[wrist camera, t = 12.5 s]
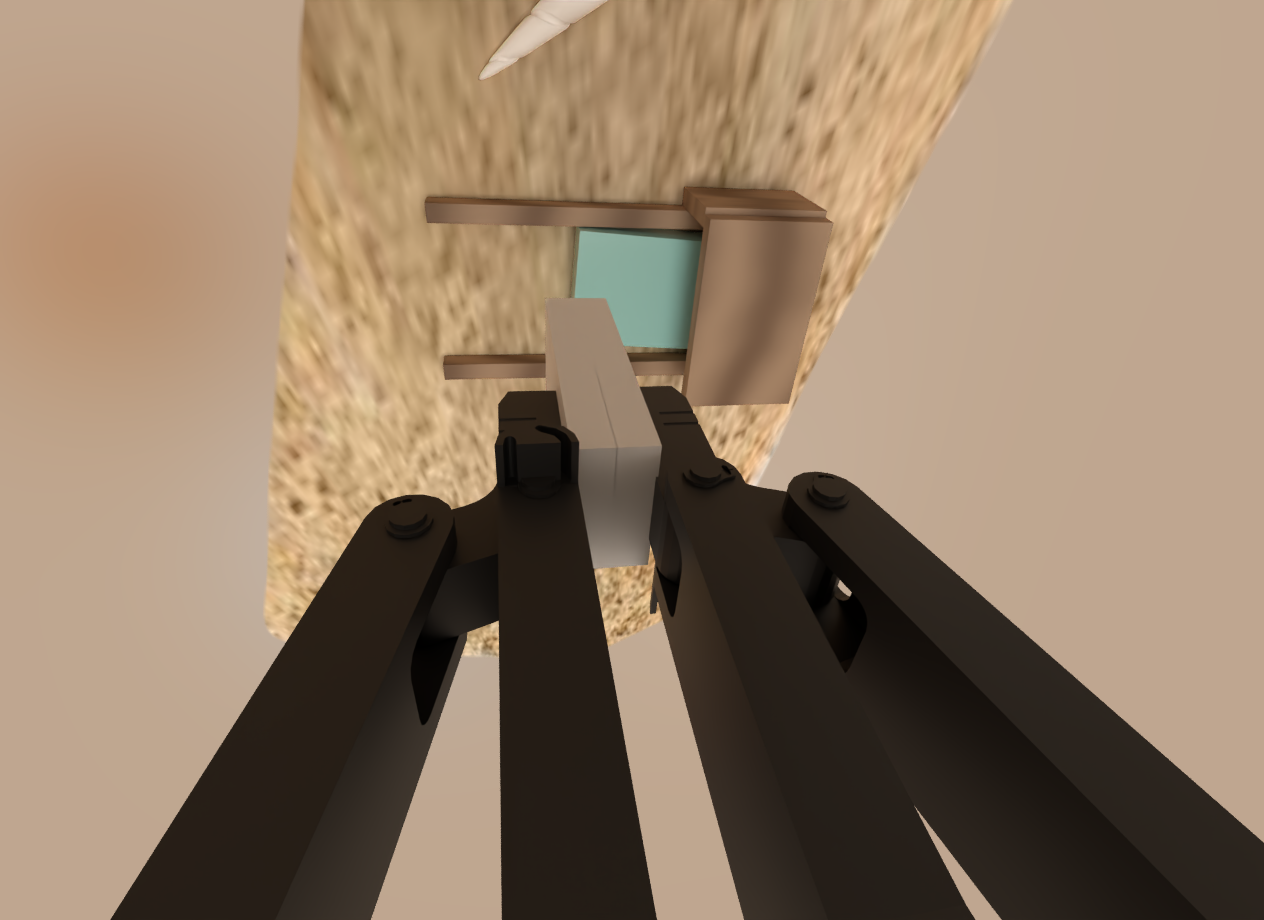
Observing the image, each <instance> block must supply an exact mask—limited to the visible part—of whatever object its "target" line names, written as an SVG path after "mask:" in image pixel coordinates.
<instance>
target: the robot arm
mask: <svg viewBox="0 0 1264 920" xmlns="http://www.w3.org/2000/svg"><path fill="white" fill-rule="evenodd" d="M545 346H546V391H513V392H508V393H507V394H506V395H505V397H504V398H503V399H502V400H501V402H500V403H499V404H498V419H499V436H498V437H497V440H496V443H495V457H496V472H497V484H496V486H495V487H494V489H493V490H492V491H491V492H490V493H489V494H488V495H487V496H485V497H484V498H482V499H480V500H479V501H477V502H475V503H472V504H469V505H466V506H463V507H460V508H456V509H452V510H451V508H450V506H449V505H448V504H447V503H445V502H443V501H442V500H440V499H439V498H436V497H431V496H427V495H405V496H401V497H397V498H393V499H390V500H388V501H386V502H384V503H382V504H380V505H379V506H377V507H375V508H374V509H373V510H372V511H371V512H370V513H369V514H368V515H367V516H366V517H365V519H364V520H363V522H362V523H361V525H360V527H359V528H358V530H357V531H356V533H355V534H354V536H353V538H352V539H351V541H350V542H349V544H348V546H347V547H346V549H345V550H344V552H343V553H342V555H341V557H340V558H339V560H338V561H337V563H336V564H335V566H334V568H333V569H332V571H331V572H330V574H329V575H328V577H327V579H326V580H325V582H324V583H323V585H322V587H321V588H320V590H319V591H318V593H317V594H316V596H315V598H314V599H313V601H312V602H311V604H310V605H309V607H308V609H307V610H306V612H305V613H304V615H303V617H302V618H301V620H300V621H299V623H298V624H297V626H296V628H295V629H294V631H293V632H292V634H291V635H290V637H289V639H288V640H287V642H286V643H285V645H284V647H283V648H282V650H281V651H280V653H279V654H278V656H277V658H276V659H275V661H274V662H273V664H272V665H271V667H270V669H269V670H268V672H267V673H266V675H265V676H264V678H263V680H262V681H261V683H260V684H259V686H258V688H257V689H256V691H255V692H254V694H253V695H252V697H251V699H250V700H249V702H248V704H247V705H246V707H245V708H244V710H243V712H242V713H241V714H240V716H239V718H238V719H237V721H236V723H235V724H234V725H233V727H232V729H231V730H230V732H229V733H228V735H227V736H226V738H225V740H224V741H223V743H222V745H221V746H220V747H219V749H218V751H217V752H216V754H215V755H214V757H213V759H212V760H211V762H210V763H209V765H208V766H207V768H206V770H205V771H204V773H203V774H202V776H201V778H200V779H199V781H198V782H197V784H196V785H195V787H194V789H193V790H192V792H191V793H190V795H189V796H188V798H187V800H186V801H185V803H184V804H183V806H182V807H181V809H180V811H179V812H178V814H177V815H176V817H175V819H174V820H173V822H172V823H171V825H170V827H169V828H168V830H167V831H166V833H165V834H164V836H163V837H162V839H161V841H160V842H159V844H158V845H157V847H156V849H155V850H154V852H153V854H152V855H151V856H150V858H149V860H148V861H147V863H146V864H145V866H144V867H143V869H142V871H141V872H140V874H139V875H138V877H137V879H136V880H135V882H134V883H133V885H132V886H131V888H130V890H129V891H128V893H127V894H126V896H125V897H124V899H123V901H122V902H121V904H120V905H119V907H118V908H117V910H116V912H115V913H114V915H113V916H112V918H111V920H371V917H372V914H373V912H374V909H375V906H376V903H377V900H378V897H379V894H380V891H381V888H382V885H383V882H384V880H385V876H386V874H387V871H388V868H389V865H390V862H391V859H392V856H393V853H394V850H395V848H396V845H397V842H398V839H399V836H400V833H401V830H402V827H403V824H404V821H405V818H406V815H407V812H408V810H409V807H410V804H411V801H412V798H413V795H414V792H415V789H416V786H417V783H418V780H419V778H420V775H421V771H422V769H423V766H424V763H425V760H426V757H427V754H428V751H429V748H430V745H431V743H432V740H433V737H434V734H435V731H436V728H437V725H438V722H439V719H440V716H441V713H442V710H443V707H444V704H445V702H446V698H447V696H448V693H449V690H450V687H451V684H452V681H453V678H454V675H455V672H456V670H457V667H458V664H459V661H460V658H461V655H462V652H463V649H464V646H465V643H466V641H467V632H469V631H472V630H475V629H477V628H480V627H483V626H485V625H488V624H491V623H494V622H496V621H499V681H500V682H499V686H500V779H501V780H500V782H501V783H500V784H501V785H500V786H501V877H502V878H501V886H502V920H657V918H656V912H655V907H654V901H653V895H652V890H651V884H650V879H649V873H648V868H647V862H646V856H645V851H644V846H643V840H642V834H641V829H640V824H639V818H638V813H637V806H636V801H635V795H634V790H633V784H632V779H631V773H630V768H629V762H628V757H627V752H626V745H625V740H624V734H623V729H622V723H621V718H620V712H619V707H618V701H617V696H616V690H615V685H614V679H613V673H612V668H611V662H610V657H609V651H608V645H607V640H606V634H605V629H604V623H603V618H602V612H601V607H600V601H599V595H598V590H597V584H596V579H595V573H594V569H598V568H610V567H623V566H636V565H648V559H649V551H650V545H651V548H652V551H653V555H654V558H655V568H654V576H653V584H652V592H651V600H650V614H653V613H656V608H657V602H658V603H659V607H660V611H661V614H662V618H663V622H664V625H665V629H666V633H667V636H668V640H669V644H670V648H671V651H672V655H673V659H674V662H675V666H676V670H677V673H678V677H679V681H680V685H681V688H682V691H683V696H684V699H685V703H686V707H687V710H688V714H689V718H690V721H691V725H692V728H693V732H694V736H695V740H696V744H697V747H698V751H699V755H700V758H701V762H702V766H703V769H704V773H705V777H706V780H707V784H708V788H709V791H710V795H711V799H712V803H713V806H714V810H715V814H716V817H717V821H718V825H719V828H720V832H721V836H722V839H723V843H724V847H725V851H726V854H727V858H728V862H729V865H730V869H731V872H732V876H733V880H734V883H735V887H736V891H737V895H738V899H739V902H740V906H741V910H742V913H743V916H744V920H975V918H974V917H973V915H972V914H971V912H970V911H969V909H968V907H967V906H966V904H965V902H964V900H963V898H962V896H961V894H960V893H959V891H958V889H957V887H956V885H955V883H954V881H953V879H952V877H951V875H950V873H949V871H948V870H947V868H946V866H945V864H944V862H943V860H942V858H941V856H940V854H939V852H938V850H937V849H936V847H935V845H934V843H933V841H932V839H931V837H930V835H929V833H928V831H927V829H926V827H925V826H924V824H923V822H922V820H921V818H920V816H919V814H918V812H917V810H918V811H919V812H920V814H921V815H922V816H923V817H924V819H925V820H926V821H927V823H928V824H929V825H930V827H931V828H932V829H933V831H934V832H935V833H936V834H937V836H938V837H939V838H940V840H941V841H942V842H943V843H944V845H945V846H946V847H947V849H948V850H949V851H950V853H951V854H952V855H953V857H954V858H955V859H956V860H957V862H958V863H959V864H960V866H961V867H962V868H963V870H964V871H965V872H966V874H967V875H968V876H969V877H970V879H971V880H972V881H973V883H974V884H975V885H976V887H977V888H978V889H979V891H980V892H981V893H982V895H983V896H984V897H985V898H986V900H987V901H988V902H989V904H990V905H991V906H992V908H993V909H994V910H995V911H996V913H997V914H998V915H999V917H1000V918H1001V919H1002V920H1264V843H1263V842H1262V841H1261V840H1260V839H1259V838H1258V837H1257V836H1255V835H1254V834H1253V833H1252V832H1251V831H1250V830H1249V829H1247V828H1246V827H1245V826H1244V825H1243V824H1242V823H1241V822H1239V821H1238V820H1237V819H1236V818H1235V817H1234V816H1233V815H1231V814H1230V813H1229V812H1228V811H1227V810H1226V809H1225V808H1223V807H1222V806H1221V805H1220V804H1219V803H1218V802H1217V801H1215V800H1214V799H1213V798H1212V797H1211V796H1210V795H1209V794H1207V793H1206V792H1205V791H1204V790H1203V789H1202V788H1200V787H1199V786H1198V785H1197V784H1196V783H1195V782H1194V781H1193V780H1191V779H1190V778H1189V777H1188V776H1187V775H1186V774H1185V773H1184V772H1182V771H1181V770H1180V769H1179V768H1178V767H1177V766H1175V765H1174V764H1173V763H1172V762H1171V761H1169V759H1168V758H1166V757H1165V756H1164V755H1163V754H1162V753H1161V752H1160V751H1158V750H1157V749H1156V748H1155V747H1154V746H1153V745H1152V744H1150V743H1149V742H1148V741H1147V740H1146V739H1145V738H1143V737H1142V736H1141V735H1140V734H1139V733H1138V732H1137V731H1136V730H1134V729H1133V728H1132V727H1131V726H1130V725H1129V724H1128V723H1126V722H1125V721H1124V720H1123V719H1122V718H1121V717H1119V716H1118V715H1117V714H1116V713H1115V712H1114V711H1113V710H1112V709H1110V708H1109V707H1108V706H1107V705H1106V704H1105V703H1104V702H1102V701H1101V700H1100V699H1099V698H1098V697H1097V696H1096V695H1094V694H1093V693H1092V692H1091V691H1090V690H1089V689H1087V688H1086V687H1085V686H1084V685H1083V684H1082V683H1081V682H1080V681H1078V680H1077V679H1076V678H1075V677H1074V676H1073V675H1072V674H1070V673H1069V672H1068V671H1067V670H1066V669H1064V668H1063V667H1062V666H1061V665H1060V664H1059V663H1058V662H1057V661H1055V660H1054V659H1053V658H1052V657H1051V656H1050V655H1049V654H1048V653H1046V652H1045V651H1044V650H1043V649H1042V648H1041V647H1040V646H1038V645H1037V644H1036V643H1035V642H1034V641H1033V640H1032V639H1030V638H1029V637H1028V636H1027V635H1026V634H1025V633H1024V632H1022V631H1021V630H1020V629H1019V628H1018V627H1017V626H1016V625H1014V624H1013V623H1012V622H1011V621H1010V620H1009V619H1008V618H1006V617H1005V616H1004V615H1003V614H1002V613H1001V612H1000V611H998V610H997V609H996V608H995V607H994V606H993V605H991V603H989V602H988V601H987V600H986V599H985V598H984V597H983V596H981V595H980V594H979V593H978V592H977V591H976V590H975V589H973V588H972V587H971V586H970V585H969V584H967V582H965V581H964V580H963V579H962V578H961V577H960V576H958V575H957V574H956V573H955V572H954V571H953V570H952V569H950V568H949V567H948V566H947V565H946V564H945V563H944V562H943V561H941V560H940V559H939V558H938V557H937V556H935V554H933V553H932V552H931V551H930V550H929V549H928V548H927V547H925V546H924V545H923V544H922V543H921V542H920V541H918V540H917V539H916V538H915V537H914V536H913V535H912V534H911V533H909V532H908V531H907V530H906V529H905V528H904V527H903V526H901V525H900V524H899V523H898V522H897V521H896V520H895V519H893V518H892V517H891V516H890V515H889V514H888V513H887V512H885V511H884V510H883V509H882V508H881V507H880V506H879V505H877V504H876V503H875V502H874V501H873V500H871V498H869V497H868V496H867V495H866V494H865V493H864V492H862V491H861V490H860V489H859V488H858V487H857V486H855V485H854V484H852V483H851V482H849V481H847V480H846V479H844V478H841V477H838V476H836V475H833V474H828V473H822V472H808V473H802V474H800V475H798V476H796V477H794V478H793V479H792V480H791V482H790V483H789V485H788V489H787V492H785V491H779V490H773V489H767V488H761V487H756V486H752V485H749V484H746V483H745V481H744V479H743V477H742V476H741V474H740V473H739V472H738V470H737V469H736V468H735V467H734V466H733V465H731V464H730V463H728V462H726V461H725V460H723V459H720V458H716V457H715V455H714V453H713V451H712V449H711V447H710V445H709V443H708V441H707V439H706V436H705V434H704V432H703V430H702V428H701V426H700V424H698V420H697V418H696V416H695V414H693V410H692V408H691V406H690V404H689V402H688V400H687V398H686V397H685V396H684V395H682V394H681V393H680V392H679V391H677V390H676V389H675V388H673V387H672V386H653V387H639V384H638V382H637V379H636V376H635V374H634V371H633V369H632V366H631V363H630V361H629V358H628V355H627V353H626V350H625V348H624V345H623V342H622V340H621V337H620V335H619V332H618V329H617V327H616V324H615V321H614V319H613V316H612V314H611V311H610V308H609V306H608V303H607V300H606V298H545ZM839 580H841V581H842V582H843V583H844V584H845V586H846V587H847V588H848V589H849V590H850V591H851V592H852V594H851V596H850V597H849V596H847V595H846V594H844V593H843V592H842V591H841V590H840V589H839V587H838V583H839ZM915 807H916V808H917V810H916V808H915Z"/></svg>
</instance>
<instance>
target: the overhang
mask: <svg viewBox="0 0 1264 920" xmlns="http://www.w3.org/2000/svg"><path fill="white" fill-rule="evenodd" d="M425 210H426V219H427V223H453V224H494V225H534V226H575V227H616V228H657V229H697V230H703V235H702V242H701V250H700V257H699V265H698V272H697V280H696V287H695V295H694V302H693V310H692V317H691V325H690V332H689V340H688V347H687V353H627V355H628V358H629V361H630V363H631V366H632V369H633V371H634V374H635V376H651V375H684V378H683V385H682V393H681V394H682V395H684V396H685V397H686V398H687V400H688V402H689V404H690V406H720V405H754V404H788V403H789V400H790V396H791V392H792V388H793V384H794V380H795V376H796V372H797V368H798V364H799V360H800V356H801V352H802V348H803V344H804V339H805V335H806V331H807V327H808V323H809V319H810V315H811V311H812V307H813V303H814V299H815V295H816V291H817V287H818V283H819V279H820V275H821V271H822V267H823V263H824V259H825V255H826V251H827V247H828V243H829V239H830V235H831V231H832V227H833V222H831V221H830V220H828V219H827V218H825V217H826V213H827V211H826V210H824V209H823V208H821V207H819V206H818V205H816V204H814V203H813V202H811V201H809V200H808V199H806V198H805V197H803V196H801V195H800V194H798V193H796V192H795V191H782V190H755V189H728V188H702V187H684V194H683V203H682V205H657V204H625V203H594V202H562V201H531V200H500V199H468V198H437V197H427V198H426V201H425ZM443 367H444V376H445V380H450V379H500V378H546V354H542V355H465V356H444V363H443Z"/></svg>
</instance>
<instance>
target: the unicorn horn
mask: <svg viewBox="0 0 1264 920" xmlns="http://www.w3.org/2000/svg"><path fill="white" fill-rule="evenodd" d="M607 1H608V0H540V1H539V2H538V3H537V5H536V6H535V7H534V8H533V9H532V10H531V14H530V15H529V16H526V17H525V18H524V19H523V21H522V22H521V23H520V24H519V25H518V26H517V28H516V29H515V30H514V31H513V32H512V33H511V35H510V36H509V37H508V38H507V39H506V41H505V42H504V43H503V44H502V45H501V47H500V48H499V49H498V50H497V51H496V53H495V54H494V55H493V56H492V57H491V58H490V60H489V63H488V64H487V65H486V66H485V67H484V69H483V70H482V72H481V74H480V75H479V80H484V79H487V78H489V77H491V76H493V75H495V74H497V73H498V72H500V71H502V70H503V69H505V68H507V67H509V66H510V65H512V64H513V63H515V62H516V61H518V59H519V58H522V57H524V56H526V55H528V54H529V53H531V52H532V51H534V50H535V49H537V48H538V47H540V46H541V45H543V44H544V43H546V42H547V41H549V40H550V39H552V38H554V37H555V36H557V35H558V34H560V33H561V32H563V31H564V30H566V29H567V28H568V27H569V25H570V23H576V22H577V21H579V20H580V19H582V18H583V17H585V16H586V15H587V14H589V13H590V12H592V11H593V10H595V9H596V8H598V7H599V6H601V5H602V4H604V3H605V2H607Z"/></svg>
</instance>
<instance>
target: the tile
mask: <svg viewBox="0 0 1264 920" xmlns="http://www.w3.org/2000/svg"><path fill="white" fill-rule="evenodd" d="M702 235H703V232H694V231H683V230H672V229H657V228H616V227H576V233H575V245H574V258H573V271H572V283H571V296H570V298H606V300H607V303H608V306H609V308H610V311H611V314H612V316H613V319H614V321H615V324H616V327H617V329H618V332H619V335H620V337H621V340H622V342H623V345H624V346H636V347H656V348H677V349H687V347H688V340H689V332H690V325H691V317H692V310H693V302H694V295H695V287H696V280H697V272H698V265H699V257H700V250H701V242H702Z"/></svg>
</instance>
